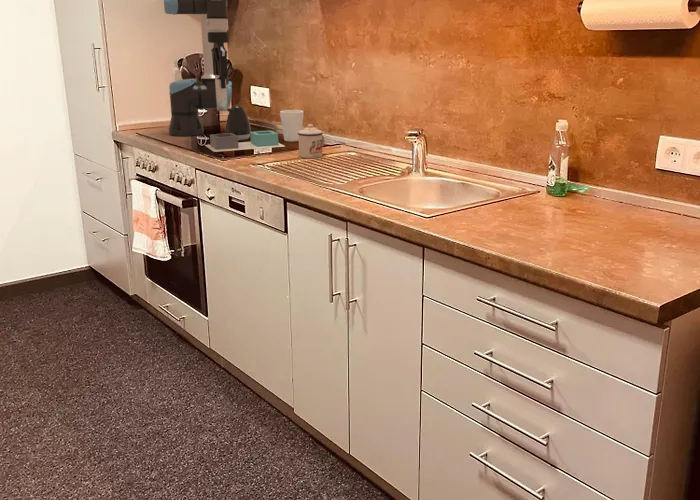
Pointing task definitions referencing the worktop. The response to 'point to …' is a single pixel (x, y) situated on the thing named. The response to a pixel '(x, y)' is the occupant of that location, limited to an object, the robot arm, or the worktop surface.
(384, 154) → the worktop surface
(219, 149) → the mount board
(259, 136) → the socket
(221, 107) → the lock pin
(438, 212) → the worktop surface
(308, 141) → the teacup with lid
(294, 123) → the foam cup
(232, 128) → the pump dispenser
